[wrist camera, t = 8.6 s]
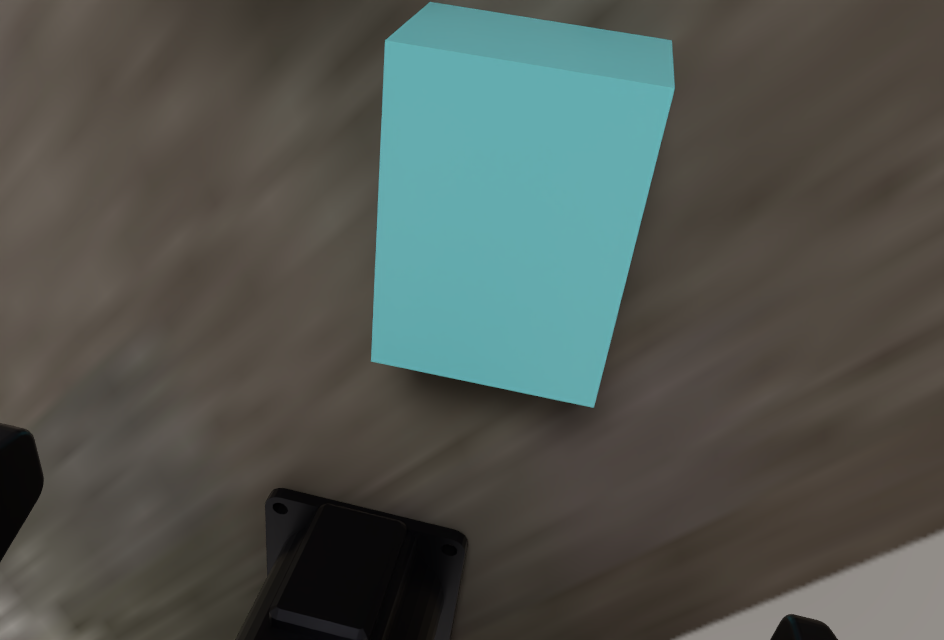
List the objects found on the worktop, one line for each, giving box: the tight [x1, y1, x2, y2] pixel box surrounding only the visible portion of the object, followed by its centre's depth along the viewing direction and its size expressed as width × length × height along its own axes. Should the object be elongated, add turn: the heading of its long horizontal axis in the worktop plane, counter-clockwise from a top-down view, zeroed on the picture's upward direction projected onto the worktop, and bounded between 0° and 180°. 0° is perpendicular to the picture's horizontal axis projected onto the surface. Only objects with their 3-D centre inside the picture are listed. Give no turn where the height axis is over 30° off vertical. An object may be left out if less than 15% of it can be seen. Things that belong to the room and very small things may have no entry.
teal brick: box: [371, 2, 675, 408], centre depth 17 cm, size 7×5×4 cm
